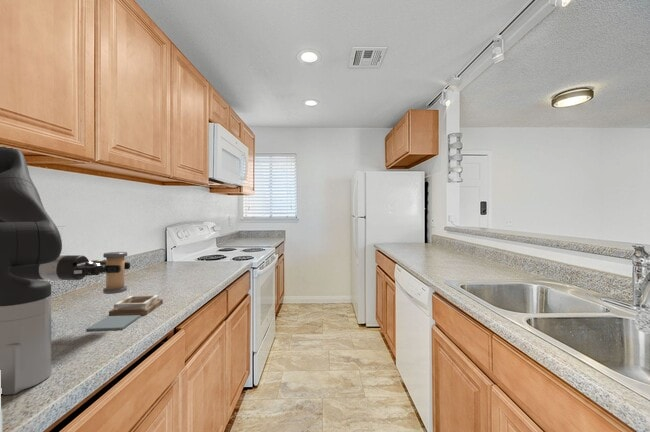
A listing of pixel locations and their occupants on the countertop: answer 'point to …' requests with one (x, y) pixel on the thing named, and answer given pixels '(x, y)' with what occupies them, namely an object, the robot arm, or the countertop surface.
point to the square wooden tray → (136, 305)
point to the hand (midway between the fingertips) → (124, 267)
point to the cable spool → (115, 279)
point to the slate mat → (114, 323)
